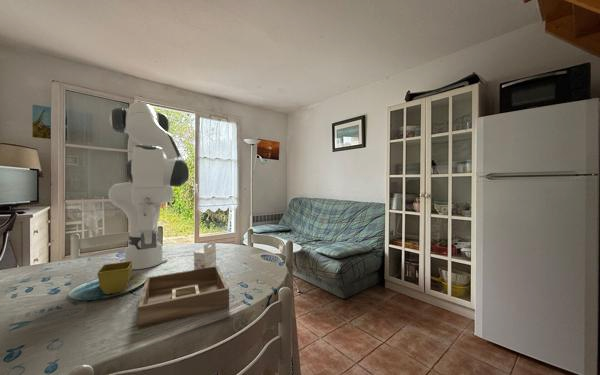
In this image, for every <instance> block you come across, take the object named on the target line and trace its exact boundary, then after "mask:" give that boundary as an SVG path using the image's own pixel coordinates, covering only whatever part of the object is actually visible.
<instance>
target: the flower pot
mask: <svg viewBox="0 0 600 375" xmlns="http://www.w3.org/2000/svg"><path fill="white" fill-rule="evenodd" d="M132 270H133V269H132V261H128V262H124V261H122V262H115V263H106V264H103V265H102V266H101V268H100V269H99V270H98V271H97V278H98V279H97V280H98V284H99V287H100V289H101V291H102V292H103V293H104V294H105V295H112V294H116V293H117V292H118V293H123V292H125V290H126V288H127V286H128V285H129V281H130V279H131V277H132ZM111 293H112V294H111ZM118 293H117V294H118Z"/></svg>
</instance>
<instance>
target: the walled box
mask: <svg viewBox="0 0 600 375" xmlns="http://www.w3.org/2000/svg"><path fill="white" fill-rule="evenodd" d="M142 288H143V289H142V292H141V295H140V299H139V303H138V306H137V327H138V328H137V330H141V329H146V328H149V327H152V326H158V325H163V324H166V323H170V322H174V321H178V320H182V319H187V318H191V317H195V316H198V315H203V314H206V313H212V312H216V311H220V310H224V309H228V308H230V288H229V285H228V284H227V282H226V279H225V278H224V276H223V273H222V272H221V270H220V268H219V266H218V265H216V266H215V267H209V268H202V269H196V270H194V269H191V270H185V271H178V272H172V273H166V274H158V275H153V276H146V279H145V281H144V285H143V287H142Z"/></svg>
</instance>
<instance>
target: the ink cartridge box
mask: <svg viewBox="0 0 600 375" xmlns="http://www.w3.org/2000/svg"><path fill="white" fill-rule="evenodd" d="M193 266H194V267H193V270H196V269H202V268H209V267H215V266H217V246H216V240H212V241H210V242H208V243H205V244H204V245H203V247H202V248H200V249H198V250H196V251H193Z"/></svg>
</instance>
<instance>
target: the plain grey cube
mask: <svg viewBox="0 0 600 375" xmlns="http://www.w3.org/2000/svg"><path fill="white" fill-rule="evenodd" d="M157 245H158V240H157V231H152V243H151V244H145V238H144V233H142V234H141V249H148V248H156V247H157Z"/></svg>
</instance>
